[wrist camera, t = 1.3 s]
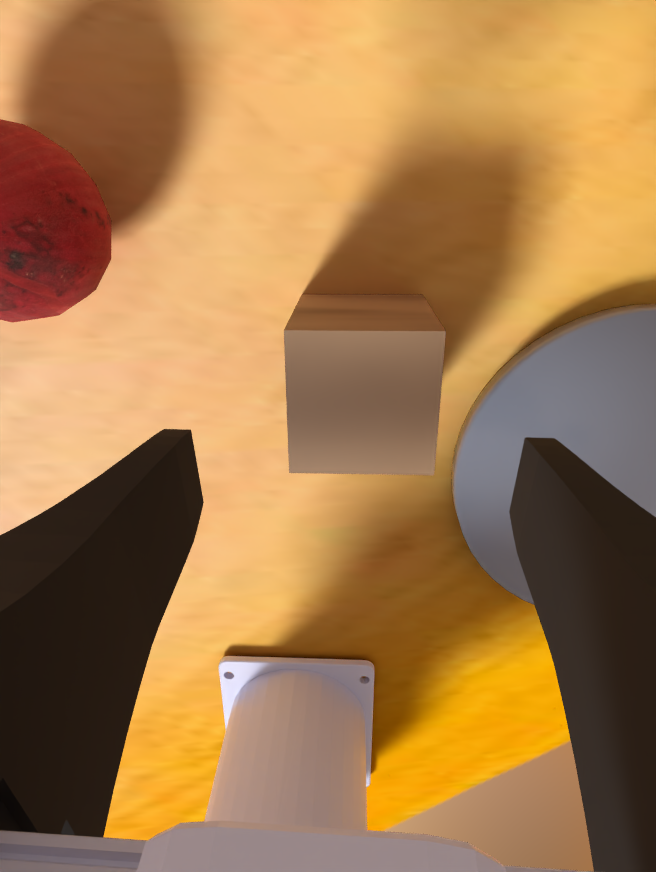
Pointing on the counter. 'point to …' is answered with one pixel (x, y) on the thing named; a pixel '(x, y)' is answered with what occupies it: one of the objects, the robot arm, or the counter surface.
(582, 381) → the plate
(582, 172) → the counter surface
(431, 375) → the walnut stool block
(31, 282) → the onion
